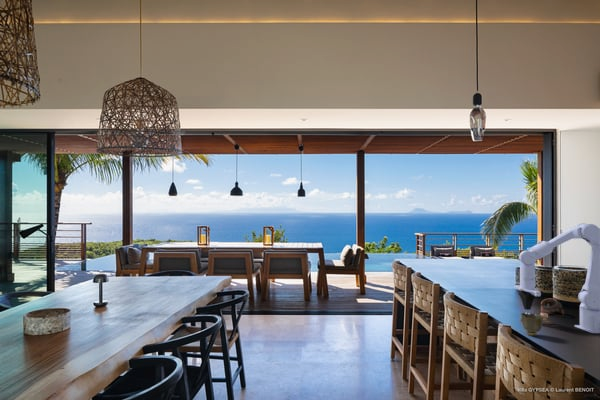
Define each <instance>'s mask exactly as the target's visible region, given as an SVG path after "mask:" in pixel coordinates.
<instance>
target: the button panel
mask: <svg viewBox="0 0 600 400" xmlns="http://www.w3.org/2000/svg"><path fill="white" fill-rule="evenodd" d="M519 321H520V322H521V323H522V318H521V317H520V318H519ZM552 324H553V322H552V321H551V320H549V319H548V318H543V321H542V325H552Z"/></svg>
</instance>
